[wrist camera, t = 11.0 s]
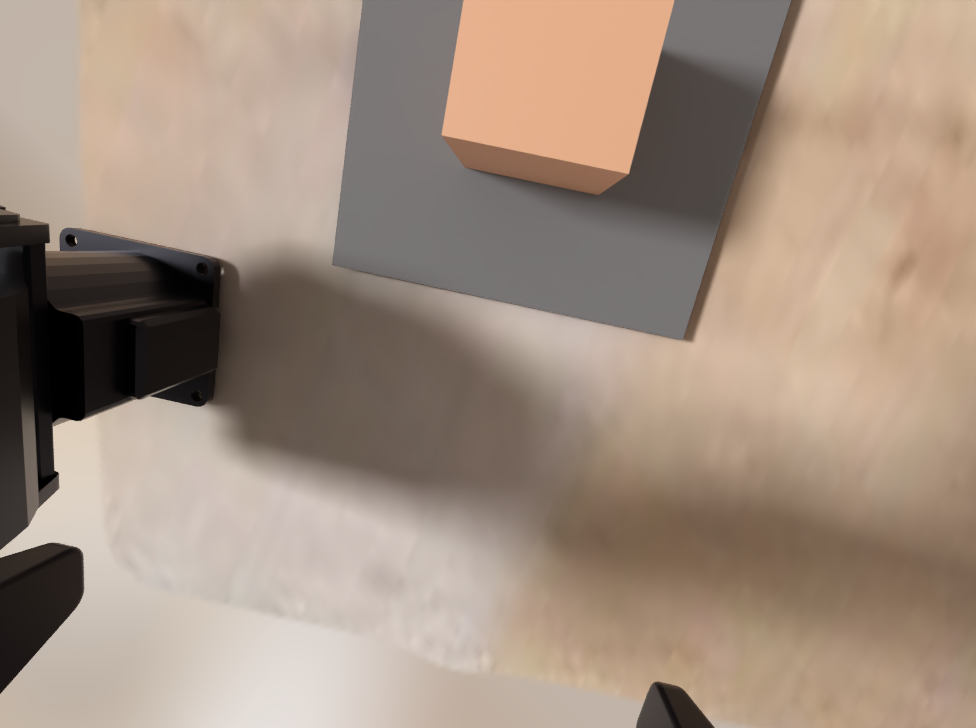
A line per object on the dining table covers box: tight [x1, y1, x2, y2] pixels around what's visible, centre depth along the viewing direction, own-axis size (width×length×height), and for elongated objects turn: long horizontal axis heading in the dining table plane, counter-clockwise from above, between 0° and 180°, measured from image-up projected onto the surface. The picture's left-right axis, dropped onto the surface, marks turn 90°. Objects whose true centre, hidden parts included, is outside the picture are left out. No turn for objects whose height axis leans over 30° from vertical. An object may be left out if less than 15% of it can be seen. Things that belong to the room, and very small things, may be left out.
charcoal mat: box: [332, 0, 791, 340], centre depth 17 cm, size 14×14×1 cm
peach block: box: [442, 0, 674, 195], centre depth 14 cm, size 5×5×5 cm
